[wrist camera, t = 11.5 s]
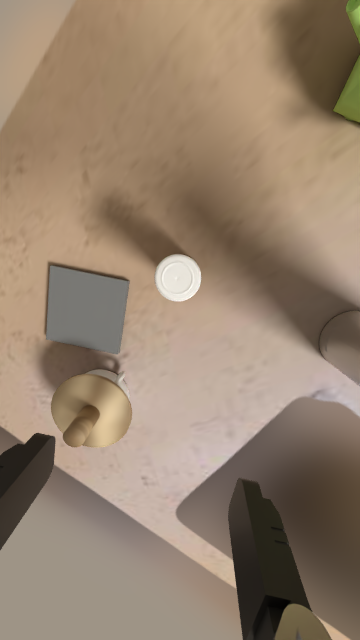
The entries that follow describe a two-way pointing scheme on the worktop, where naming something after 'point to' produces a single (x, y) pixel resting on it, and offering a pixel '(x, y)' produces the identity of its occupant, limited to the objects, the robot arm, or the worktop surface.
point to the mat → (86, 309)
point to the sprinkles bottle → (178, 277)
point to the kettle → (356, 96)
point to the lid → (91, 411)
